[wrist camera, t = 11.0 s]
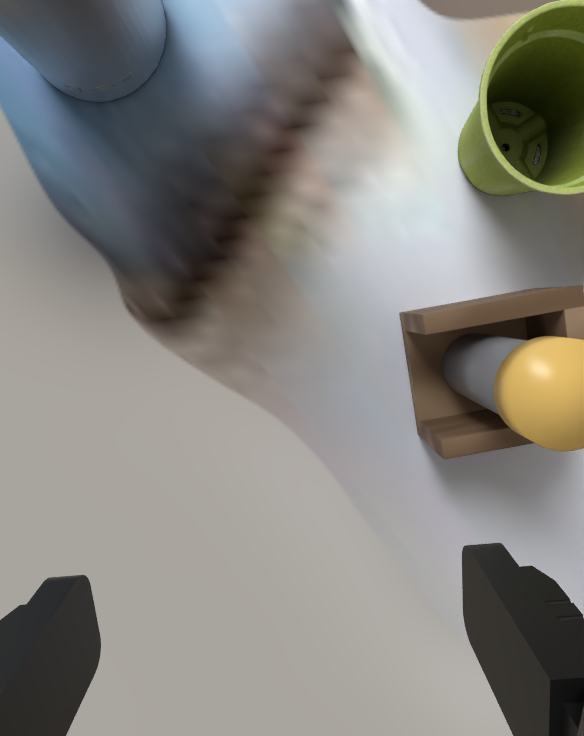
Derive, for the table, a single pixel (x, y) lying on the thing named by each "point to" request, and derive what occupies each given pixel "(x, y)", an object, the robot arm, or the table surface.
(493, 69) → the plant pot
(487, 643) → the robot arm
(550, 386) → the connector plug
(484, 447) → the end holder
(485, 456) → the table surface
